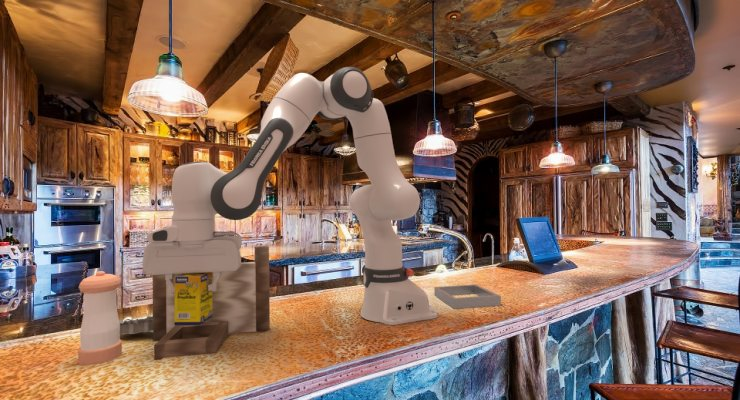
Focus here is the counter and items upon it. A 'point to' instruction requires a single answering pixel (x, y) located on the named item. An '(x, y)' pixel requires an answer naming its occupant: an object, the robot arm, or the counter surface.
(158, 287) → the wooden display stand
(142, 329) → the egg carton
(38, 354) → the counter surface
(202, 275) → the supplement box
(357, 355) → the counter surface
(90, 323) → the pepper shaker
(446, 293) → the frame
